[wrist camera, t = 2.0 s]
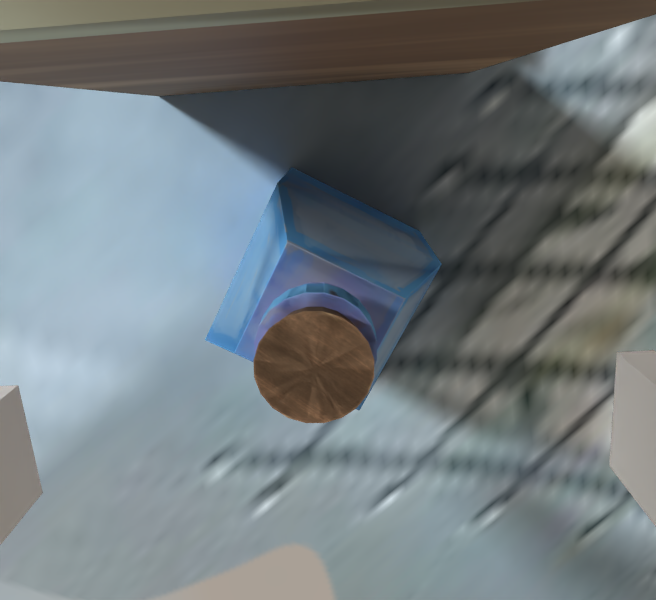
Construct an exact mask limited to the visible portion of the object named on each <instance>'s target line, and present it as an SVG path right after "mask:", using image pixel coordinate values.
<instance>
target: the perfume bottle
mask: <svg viewBox="0 0 656 600" xmlns="http://www.w3.org/2000/svg"><path fill="white" fill-rule="evenodd" d="M441 265H442V264H441V262H440V261H439V259H438V258H437V256H436V255H435V253H434V252H433V251H432V249H431V248H430V246H429V245H428V243H427V242H426V240H425V239H424V237H423V236H422V234H421V233H420V231H418V230H416V229H414V228H412V227H410V226H408V225H406V224H404V223H402V222H400V221H398V220H396V219H394V218H392V217H390V216H388V215H386V214H384V213H382V212H380V211H378V210H376V209H374V208H372V207H370V206H368V205H366V204H364V203H362V202H360V201H358V200H356V199H354V198H352V197H350V196H348V195H346V194H344V193H342V192H340V191H338V190H336V189H334V188H332V187H330V186H328V185H326V184H324V183H322V182H320V181H318V180H316V179H314V178H312V177H310V176H308V175H306V174H304V173H302V172H300V171H298V170H296V169H294V168H291V169H290V170H289V171H288V172H287V173H286V174H285V175H284V177H283V178H282V179H281V180H280V181H279V182H278V183H277V186H276V188H275V190H274V192H273V194H272V196H271V198H270V201H269V203H268V205H267V207H266V209H265V211H264V214H263V216H262V218H261V220H260V222H259V224H258V227H257V229H256V231H255V233H254V235H253V237H252V240H251V242H250V244H249V246H248V248H247V250H246V253H245V255H244V257H243V259H242V261H241V263H240V266H239V268H238V270H237V272H236V274H235V276H234V279H233V281H232V283H231V285H230V287H229V289H228V292H227V294H226V296H225V298H224V300H223V302H222V304H221V307H220V309H219V311H218V313H217V315H216V317H215V320H214V322H213V324H212V326H211V328H210V330H209V333H208V335H207V337H206V339H205V340H206V341H208V342H210V343H213V344H215V345H217V346H219V347H221V348H224V349H226V350H228V351H230V352H232V353H235V354H237V355H239V356H241V357H243V358H246V359H248V360H250V361H252V362H254V378H255V380H256V383H257V385H258V388H259V390H260V393H261V395H262V396H263V397H264V398H265V399H266V401H267V402H268V403H269V404H270V405H271V407H272V408H274V409H275V410H277V411H278V412H280V413H281V414H283V415H285V416H286V417H288V418H291V419H294V420H298V421H301V422H305V423H325V422H329V421H332V420H336V419H339V418H342V417H344V416H345V415H347V414H348V413H350V412H351V411H353V410H354V409H357V410H360V409H361V407H362V405H363V403H364V401H365V400H366V398H367V396H368V394H369V393H370V391H371V389H372V387H373V385H374V384H375V382H376V380H377V378H378V377H379V375H380V373H381V371H382V369H383V368H384V366H385V364H386V362H387V361H388V359H389V357H390V355H391V353H392V352H393V350H394V348H395V346H396V345H397V343H398V341H399V339H400V337H401V336H402V334H403V332H404V330H405V329H406V327H407V325H408V323H409V321H410V320H411V318H412V316H413V314H414V313H415V311H416V309H417V307H418V305H419V304H420V302H421V300H422V298H423V297H424V295H425V293H426V291H427V289H428V288H429V286H430V284H431V282H432V281H433V279H434V277H435V275H436V273H437V272H438V270H439V268H440V266H441Z"/></svg>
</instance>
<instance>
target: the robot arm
mask: <svg viewBox="0 0 656 600" xmlns="http://www.w3.org/2000/svg"><path fill="white" fill-rule="evenodd" d="M609 466H610V467H611V469H612V470H613V471H614V473H615V474H616V475H617V477H618V478H619V479H620V480H621V482H622V483H623V484H624V486H625V487H626V488H627V490H628V491H629V492H630V494H631V495H632V496H633V497H634V499H635V500H636V501H637V503H638V504H639V505H640V507H641V508H642V509H643V510H644V512H645V513H646V514H647V516H648V517H649V518H650V520H651V521H652V522H653V524H654V525H655V526H656V352H655V351H654V350H647V351H629V352H617V357H616V373H615V388H614V403H613V419H612V434H611V449H610V465H609ZM42 493H43V492H42V488H41V483H40V479H39V475H38V470H37V466H36V461H35V457H34V453H33V448H32V444H31V439H30V435H29V431H28V426H27V422H26V417H25V413H24V409H23V404H22V400H21V395H20V391H19V387H18V385H12V386H0V545H1V544H2V543H3V541H4V540H5V539H6V538H7V536H8V535H9V534H10V533H11V531H12V530H13V529H14V528H15V526H16V525H17V524H18V523H19V521H20V520H21V519H22V518H23V517H24V515H25V514H26V513H27V512H28V510H29V509H30V508H31V507H32V505H33V504H34V503H35V502H36V500H37V499H38V498H39V497H40V495H41V494H42Z"/></svg>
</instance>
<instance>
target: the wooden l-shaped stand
mask: <svg viewBox="0 0 656 600" xmlns="http://www.w3.org/2000/svg"><path fill="white" fill-rule="evenodd" d="M655 14H656V0H0V81H2V82H13V83H24V84H34V85H45V86H56V87H66V88H77V89H87V90H98V91H109V92H119V93H130V94H141V95H151V96H166V95H180V94H193V93H206V92H220V91H233V90H246V89H260V88H273V87H286V86H300V85H313V84H326V83H340V82H353V81H366V80H380V79H393V78H406V77H420V76H433V75H446V74H460V73H470V72H473V71H476V70H479V69H483V68H486V67H489V66H492V65H495V64H499V63H502V62H505V61H508V60H511V59H514V58H518V57H521V56H524V55H527V54H530V53H534V52H537V51H540V50H543V49H546V48H550V47H553V46H556V45H559V44H562V43H565V42H569V41H572V40H575V39H578V38H581V37H585V36H588V35H591V34H594V33H597V32H601V31H604V30H607V29H610V28H613V27H616V26H620V25H623V24H626V23H629V22H632V21H636V20H639V19H642V18H645V17H648V16H652V15H655Z"/></svg>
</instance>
